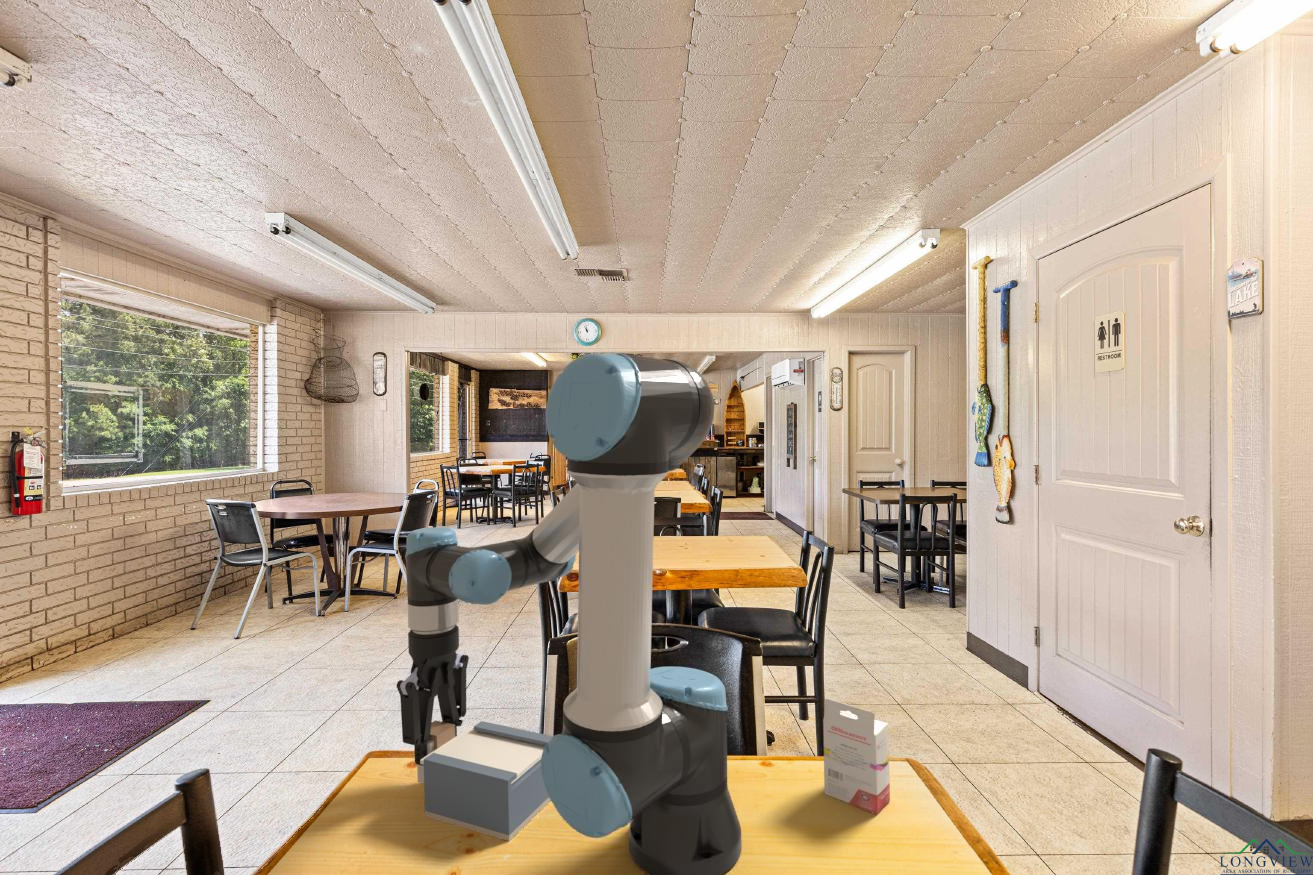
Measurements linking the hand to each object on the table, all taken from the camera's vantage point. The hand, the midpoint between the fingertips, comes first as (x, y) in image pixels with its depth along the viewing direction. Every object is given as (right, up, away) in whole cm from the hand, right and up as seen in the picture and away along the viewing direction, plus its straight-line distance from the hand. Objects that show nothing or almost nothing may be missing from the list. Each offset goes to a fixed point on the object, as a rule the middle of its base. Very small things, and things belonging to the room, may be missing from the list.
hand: (437, 773), depth 101 cm
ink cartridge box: (+65, -1, -4) cm, 65 cm away
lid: (+7, +3, -3) cm, 9 cm away
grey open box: (+10, -2, -4) cm, 11 cm away
